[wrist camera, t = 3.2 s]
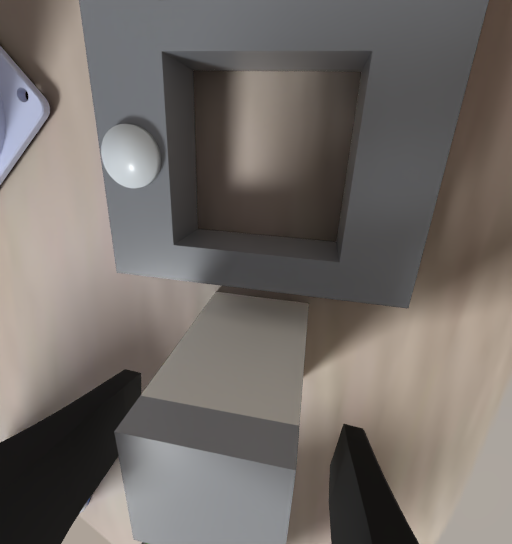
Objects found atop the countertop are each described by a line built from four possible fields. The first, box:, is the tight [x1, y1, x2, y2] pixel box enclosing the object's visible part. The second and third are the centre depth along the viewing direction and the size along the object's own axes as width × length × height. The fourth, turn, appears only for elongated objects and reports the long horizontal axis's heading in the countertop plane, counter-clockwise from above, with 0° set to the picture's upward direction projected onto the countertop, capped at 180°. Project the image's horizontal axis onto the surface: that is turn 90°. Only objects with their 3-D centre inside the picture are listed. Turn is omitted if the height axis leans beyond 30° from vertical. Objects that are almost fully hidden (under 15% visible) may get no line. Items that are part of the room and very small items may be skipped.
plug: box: [114, 292, 309, 544], centre depth 12 cm, size 4×4×8 cm
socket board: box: [79, 0, 489, 308], centre depth 9 cm, size 16×11×3 cm
